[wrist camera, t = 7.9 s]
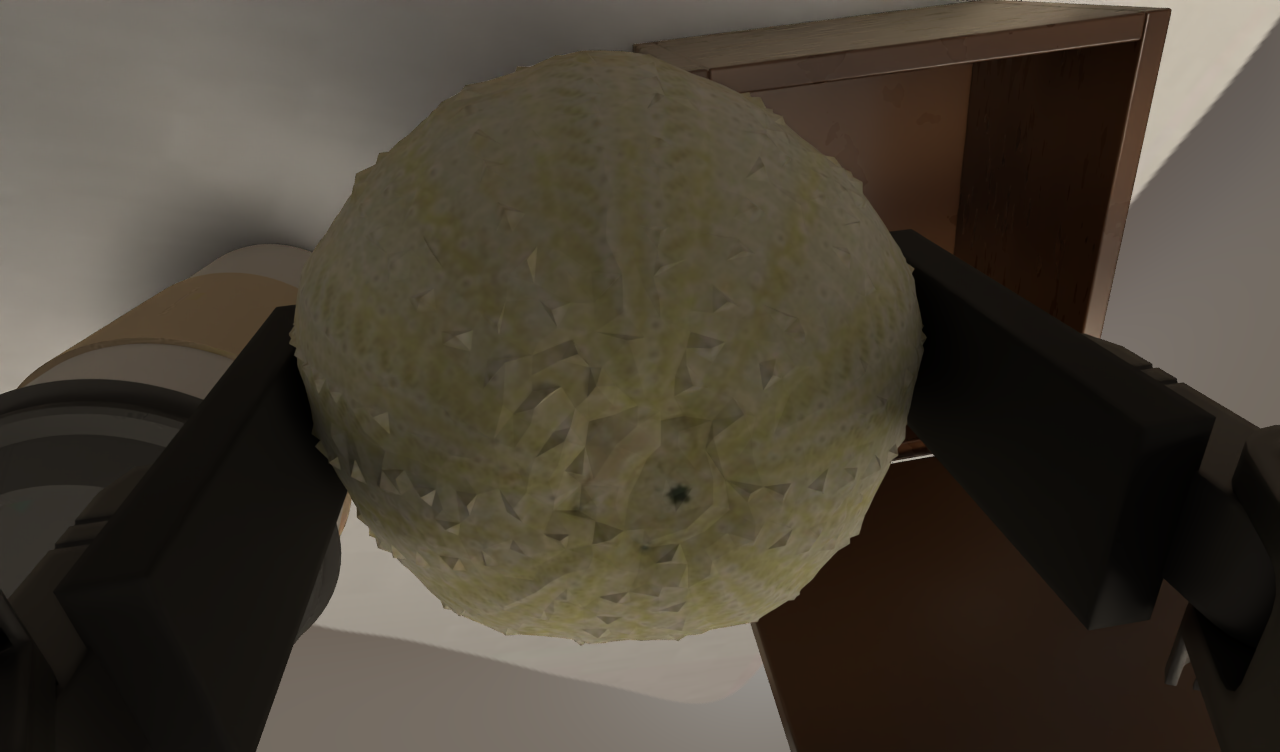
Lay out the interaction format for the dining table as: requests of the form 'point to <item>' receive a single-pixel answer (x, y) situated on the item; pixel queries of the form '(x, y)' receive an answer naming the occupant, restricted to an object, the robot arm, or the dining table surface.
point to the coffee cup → (134, 403)
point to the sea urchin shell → (608, 352)
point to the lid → (965, 645)
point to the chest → (971, 128)
